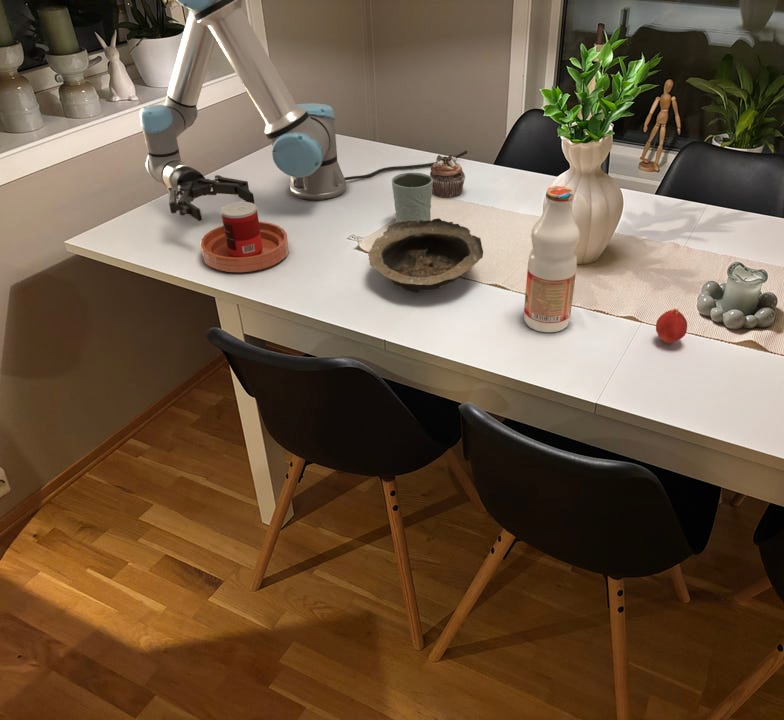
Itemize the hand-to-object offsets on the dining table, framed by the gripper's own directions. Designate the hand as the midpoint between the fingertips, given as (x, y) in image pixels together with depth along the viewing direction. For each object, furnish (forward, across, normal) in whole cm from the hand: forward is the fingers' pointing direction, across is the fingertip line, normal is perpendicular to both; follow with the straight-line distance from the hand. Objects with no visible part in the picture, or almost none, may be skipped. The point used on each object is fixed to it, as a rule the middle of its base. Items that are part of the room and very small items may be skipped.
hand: (226, 207), depth 169 cm
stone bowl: (+43, -24, -10) cm, 50 cm away
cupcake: (+10, -60, -10) cm, 62 cm away
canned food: (+7, 0, -9) cm, 11 cm away
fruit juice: (+72, -31, -10) cm, 79 cm away
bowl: (+7, 0, -10) cm, 12 cm away
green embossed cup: (+20, -40, -10) cm, 45 cm away
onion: (+94, -43, -10) cm, 103 cm away
